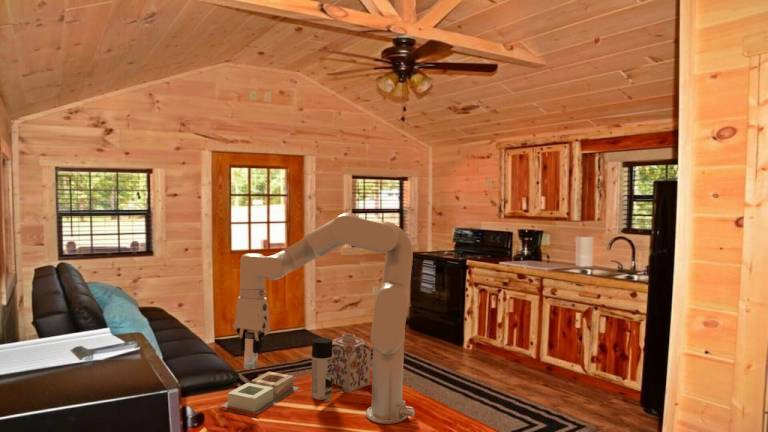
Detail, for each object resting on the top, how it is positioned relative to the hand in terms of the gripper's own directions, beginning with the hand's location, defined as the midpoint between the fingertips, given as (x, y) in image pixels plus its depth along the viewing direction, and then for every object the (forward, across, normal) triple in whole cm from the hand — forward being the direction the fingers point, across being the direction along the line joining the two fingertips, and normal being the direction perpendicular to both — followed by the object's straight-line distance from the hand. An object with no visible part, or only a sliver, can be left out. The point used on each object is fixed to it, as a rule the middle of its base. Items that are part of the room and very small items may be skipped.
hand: (251, 350), depth 170 cm
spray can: (+18, -17, -15) cm, 29 cm away
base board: (+18, 0, -6) cm, 19 cm away
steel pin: (+5, 0, 0) cm, 5 cm away
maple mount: (+17, 0, -12) cm, 21 cm away
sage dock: (+17, 0, 0) cm, 17 cm away
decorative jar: (+18, -19, -31) cm, 41 cm away
